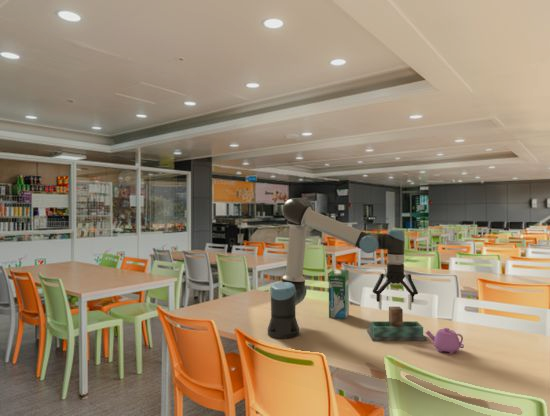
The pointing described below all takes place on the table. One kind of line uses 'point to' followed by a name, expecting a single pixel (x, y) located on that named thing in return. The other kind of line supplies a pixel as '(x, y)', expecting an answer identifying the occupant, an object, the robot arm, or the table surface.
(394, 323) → the walnut block
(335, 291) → the milk carton
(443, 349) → the teapot
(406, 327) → the green tray
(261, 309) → the table surface
